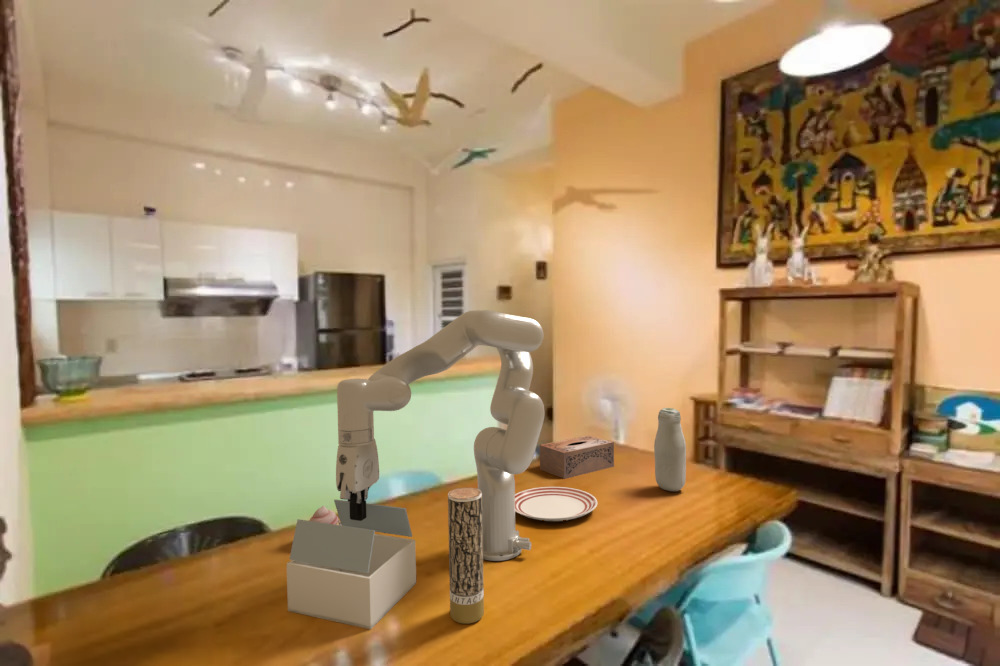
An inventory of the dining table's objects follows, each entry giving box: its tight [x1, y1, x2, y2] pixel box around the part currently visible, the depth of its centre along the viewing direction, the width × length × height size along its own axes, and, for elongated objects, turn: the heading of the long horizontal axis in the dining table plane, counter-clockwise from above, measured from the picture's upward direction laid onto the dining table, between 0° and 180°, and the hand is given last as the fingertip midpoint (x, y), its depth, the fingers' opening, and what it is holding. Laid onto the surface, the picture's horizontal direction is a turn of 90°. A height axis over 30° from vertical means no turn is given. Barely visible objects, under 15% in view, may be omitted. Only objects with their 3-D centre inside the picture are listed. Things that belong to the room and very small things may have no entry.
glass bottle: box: [653, 407, 687, 493], centre depth 174 cm, size 10×10×28 cm
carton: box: [286, 533, 417, 630], centre depth 111 cm, size 20×18×10 cm
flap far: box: [333, 499, 413, 538], centre depth 118 cm, size 19×8×1 cm
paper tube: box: [447, 487, 485, 625], centre depth 103 cm, size 7×7×25 cm
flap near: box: [289, 519, 376, 573], centre depth 104 cm, size 19×8×1 cm
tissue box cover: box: [539, 435, 615, 480], centre depth 202 cm, size 26×14×10 cm, turn 124°
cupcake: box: [308, 505, 342, 526], centre depth 138 cm, size 9×9×10 cm
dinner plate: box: [515, 486, 598, 522], centre depth 159 cm, size 28×27×3 cm
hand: (358, 518), depth 113 cm, fingers closed
